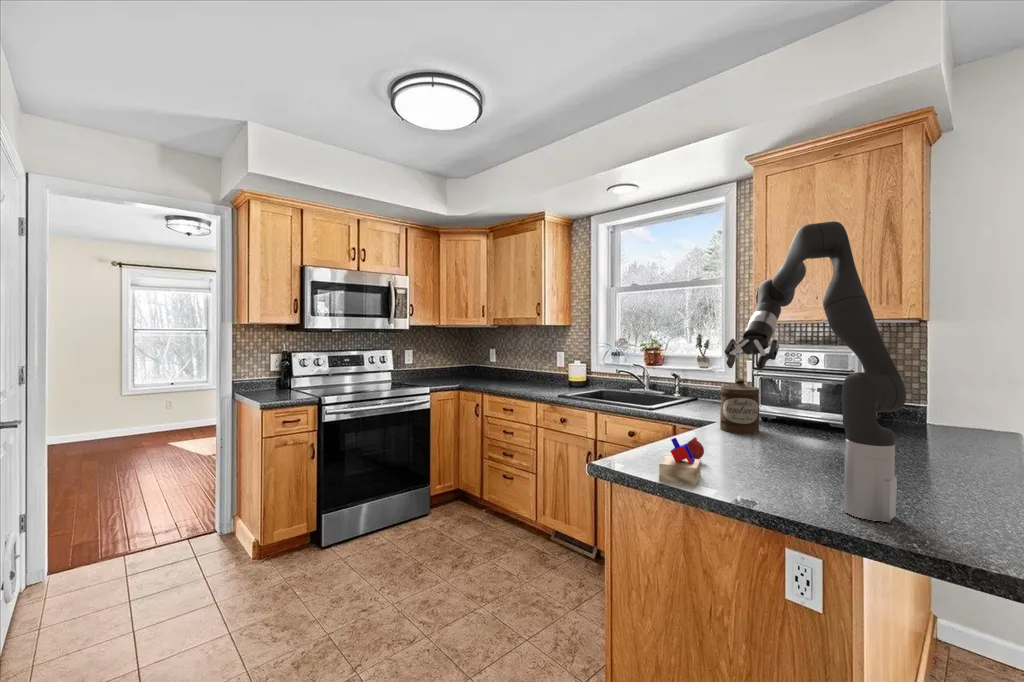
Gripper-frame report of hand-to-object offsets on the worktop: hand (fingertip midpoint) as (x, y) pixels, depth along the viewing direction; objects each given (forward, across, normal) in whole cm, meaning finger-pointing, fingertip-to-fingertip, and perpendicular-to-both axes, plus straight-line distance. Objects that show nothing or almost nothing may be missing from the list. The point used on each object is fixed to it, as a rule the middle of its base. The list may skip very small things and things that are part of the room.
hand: (743, 367), depth 144 cm
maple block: (+35, -10, +11) cm, 38 cm away
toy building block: (+31, -10, +8) cm, 34 cm away
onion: (+22, -16, +23) cm, 36 cm away
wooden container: (-20, -28, +65) cm, 73 cm away
